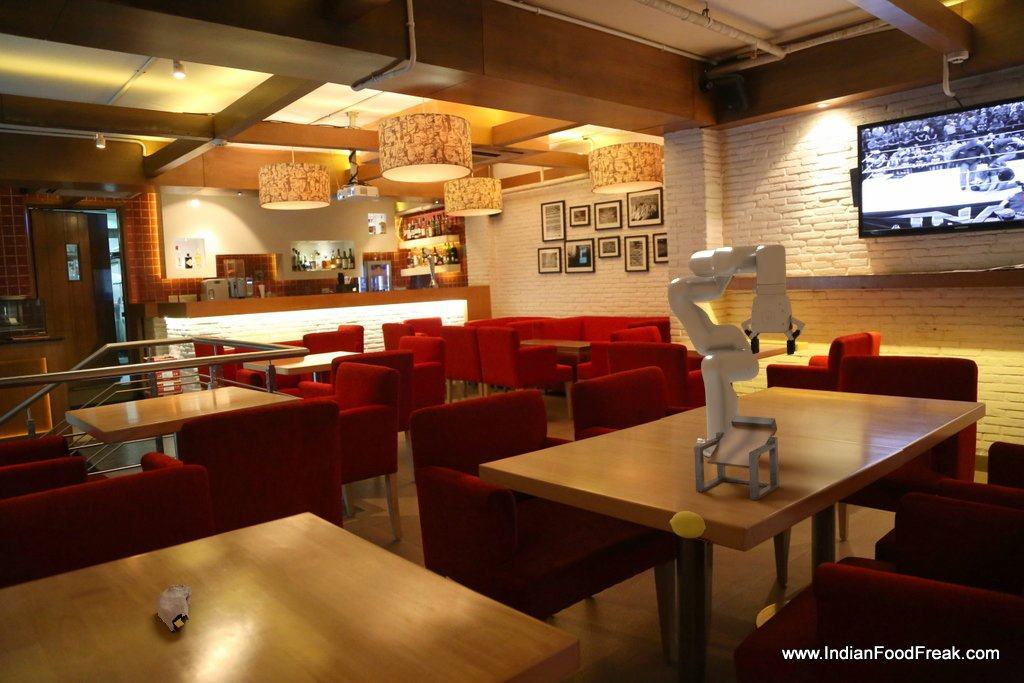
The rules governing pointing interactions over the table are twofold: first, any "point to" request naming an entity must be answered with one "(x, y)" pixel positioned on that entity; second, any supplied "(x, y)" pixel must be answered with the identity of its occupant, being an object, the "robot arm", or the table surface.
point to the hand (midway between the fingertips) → (772, 354)
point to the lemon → (687, 524)
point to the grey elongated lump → (174, 603)
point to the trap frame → (753, 468)
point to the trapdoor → (742, 440)
